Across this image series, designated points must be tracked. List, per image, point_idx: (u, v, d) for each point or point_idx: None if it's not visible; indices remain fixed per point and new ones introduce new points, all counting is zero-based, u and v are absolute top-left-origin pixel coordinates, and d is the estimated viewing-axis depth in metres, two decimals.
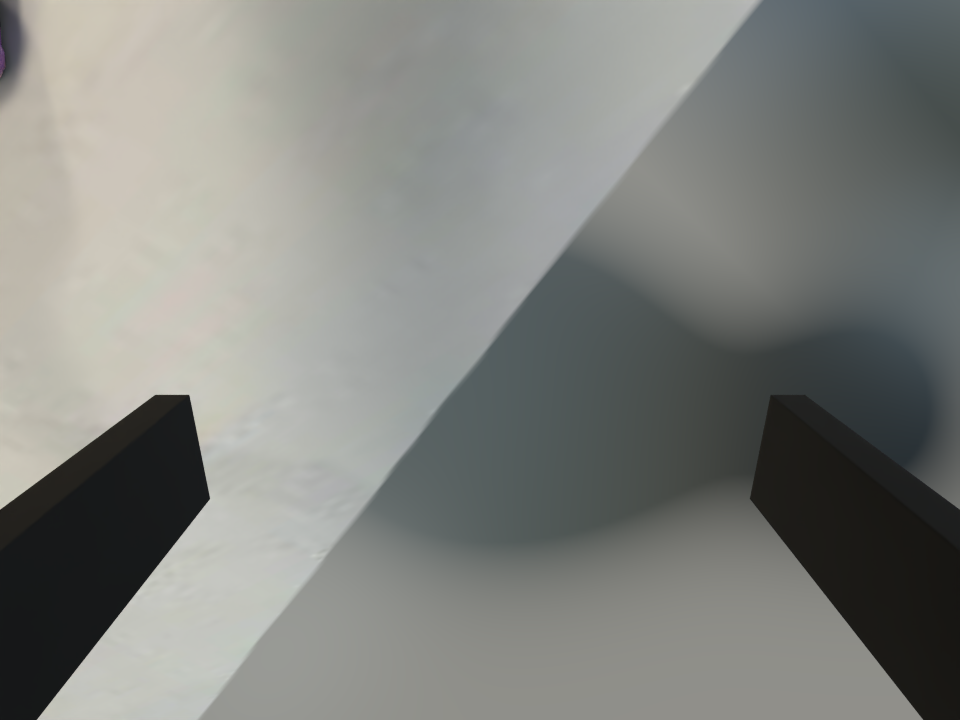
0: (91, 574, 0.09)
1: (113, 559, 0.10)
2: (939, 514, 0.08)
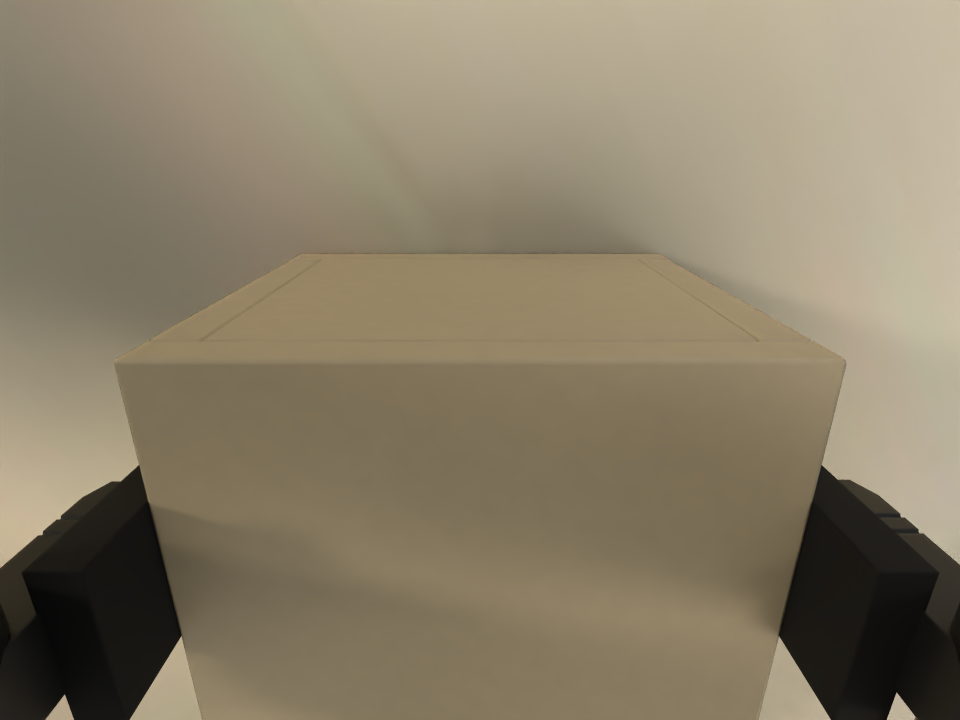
0: None
1: None
2: None
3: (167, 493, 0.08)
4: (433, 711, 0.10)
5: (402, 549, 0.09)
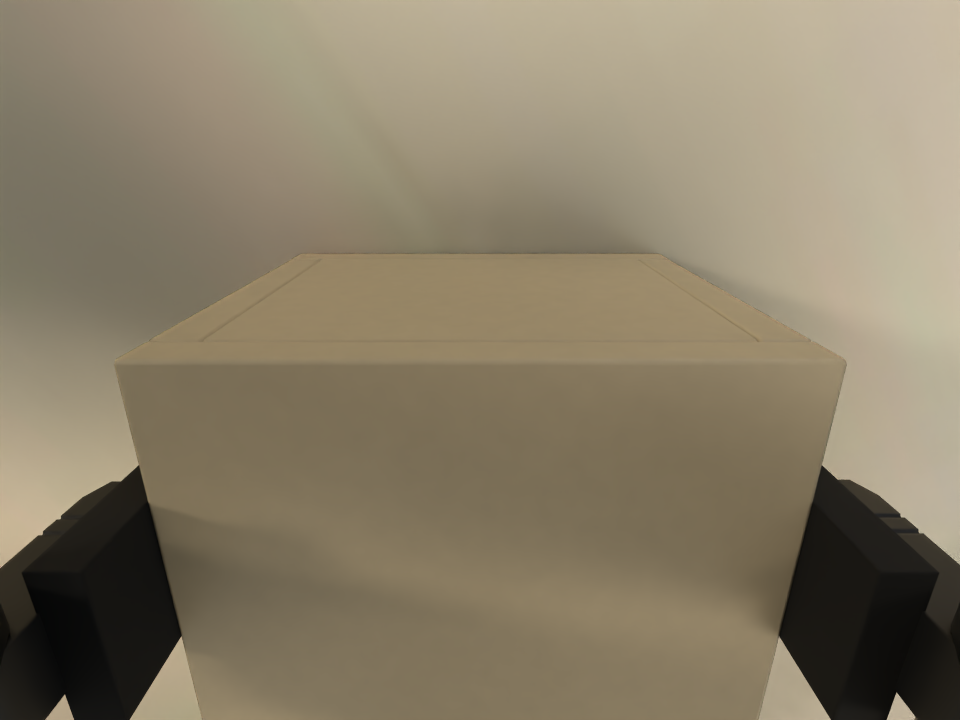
0: None
1: None
2: None
3: (167, 494, 0.08)
4: (433, 711, 0.10)
5: (402, 550, 0.09)
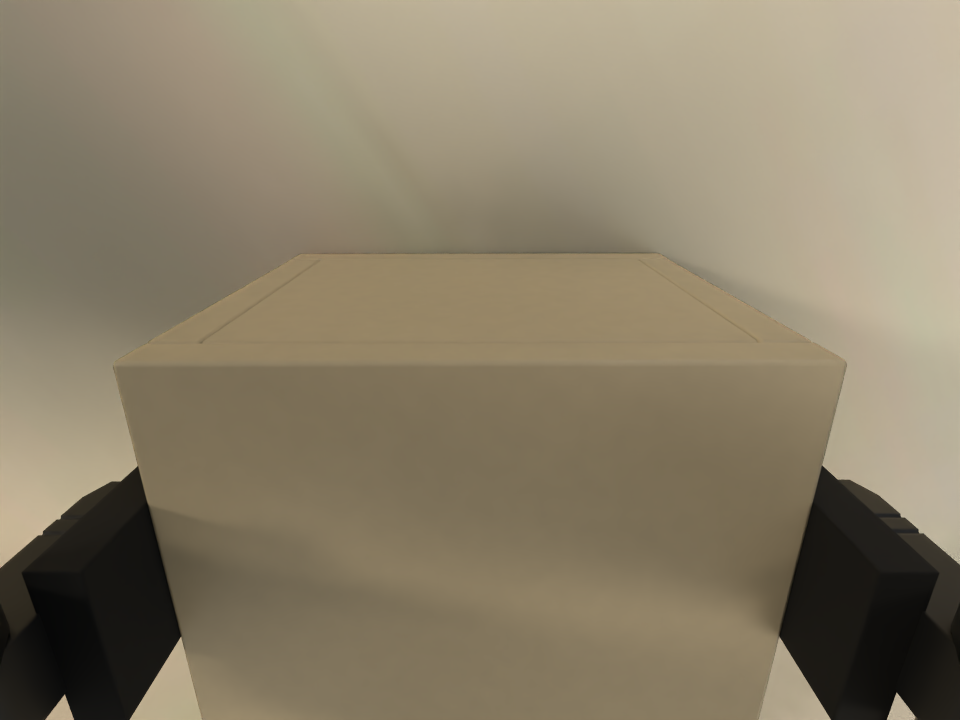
0: None
1: None
2: None
3: (166, 495, 0.08)
4: (433, 712, 0.10)
5: (402, 552, 0.09)
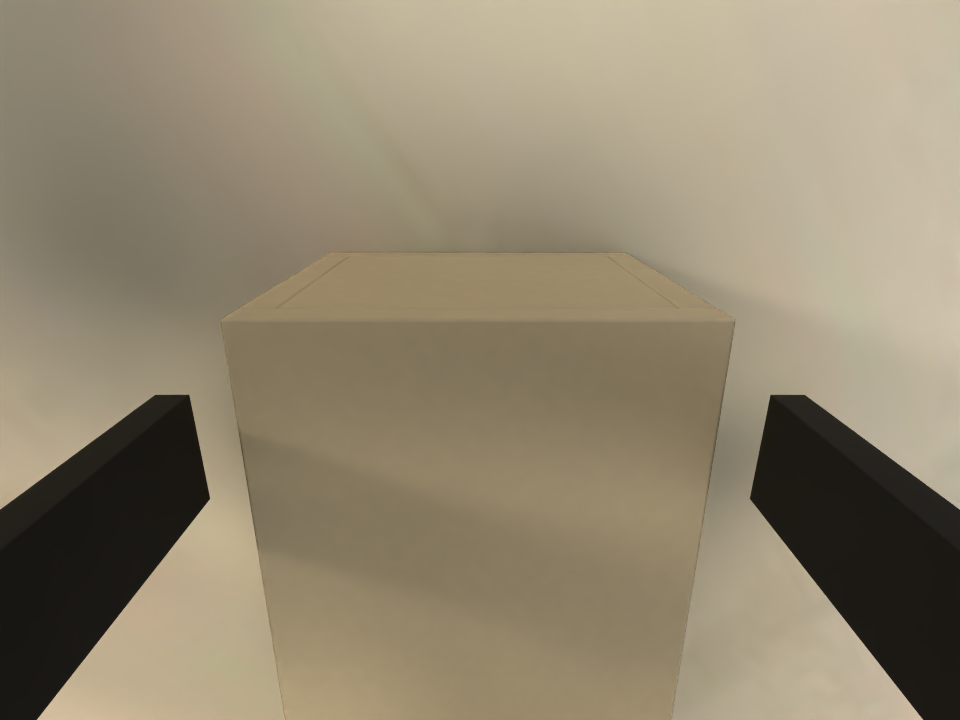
0: (91, 575, 0.09)
1: (113, 559, 0.10)
2: (939, 514, 0.08)
3: (252, 418, 0.12)
4: (442, 595, 0.13)
5: (421, 462, 0.12)
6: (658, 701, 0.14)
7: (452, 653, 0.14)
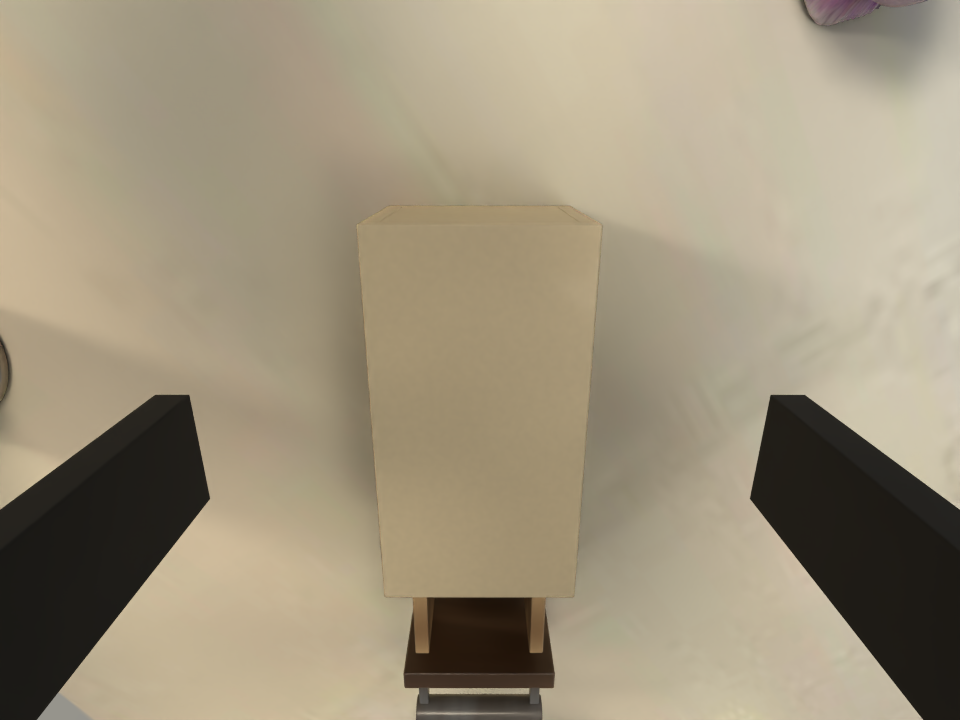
0: (91, 575, 0.09)
1: (113, 559, 0.10)
2: (939, 514, 0.08)
3: (368, 276, 0.24)
4: (460, 376, 0.25)
5: (450, 300, 0.24)
6: (577, 443, 0.26)
7: (465, 412, 0.26)
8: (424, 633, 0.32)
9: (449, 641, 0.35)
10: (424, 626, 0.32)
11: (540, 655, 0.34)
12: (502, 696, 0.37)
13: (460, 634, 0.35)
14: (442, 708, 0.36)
